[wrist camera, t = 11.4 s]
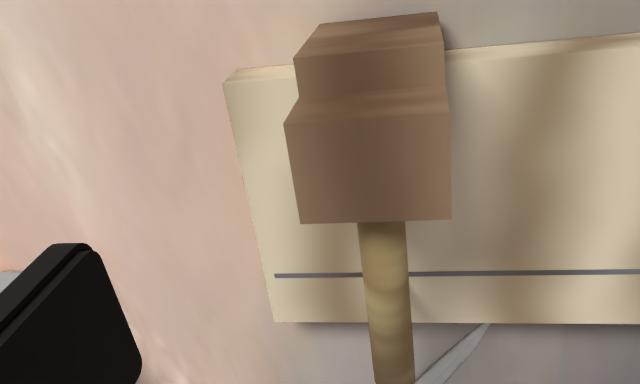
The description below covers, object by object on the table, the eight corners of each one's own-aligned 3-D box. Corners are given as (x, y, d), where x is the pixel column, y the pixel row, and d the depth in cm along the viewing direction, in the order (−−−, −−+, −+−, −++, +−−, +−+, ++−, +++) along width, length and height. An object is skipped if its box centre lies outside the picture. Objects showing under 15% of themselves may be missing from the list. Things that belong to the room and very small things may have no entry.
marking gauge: (437, 11, 19) (449, 65, 13) (444, 288, 25) (455, 422, 19) (319, 24, 20) (275, 80, 14) (353, 289, 26) (333, 417, 20)
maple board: (924, 6, 17) (982, 17, 16) (816, 293, 23) (849, 326, 21) (236, 69, 22) (221, 83, 20) (282, 295, 28) (274, 322, 26)
